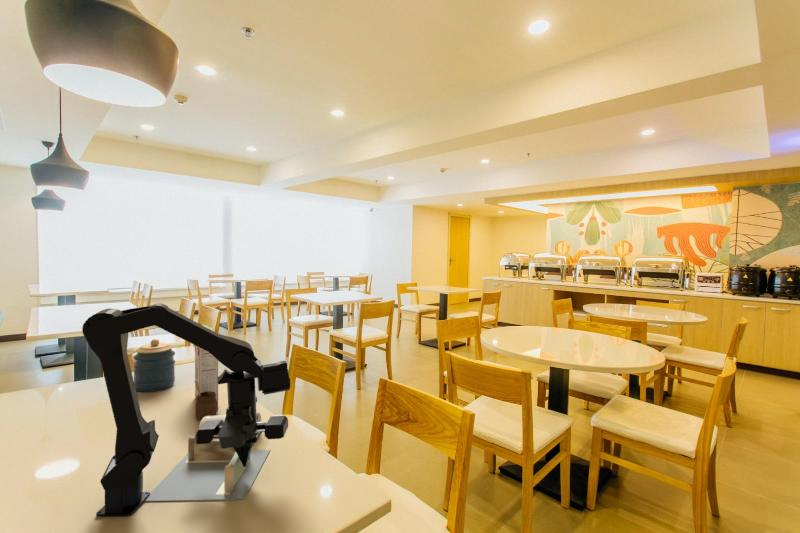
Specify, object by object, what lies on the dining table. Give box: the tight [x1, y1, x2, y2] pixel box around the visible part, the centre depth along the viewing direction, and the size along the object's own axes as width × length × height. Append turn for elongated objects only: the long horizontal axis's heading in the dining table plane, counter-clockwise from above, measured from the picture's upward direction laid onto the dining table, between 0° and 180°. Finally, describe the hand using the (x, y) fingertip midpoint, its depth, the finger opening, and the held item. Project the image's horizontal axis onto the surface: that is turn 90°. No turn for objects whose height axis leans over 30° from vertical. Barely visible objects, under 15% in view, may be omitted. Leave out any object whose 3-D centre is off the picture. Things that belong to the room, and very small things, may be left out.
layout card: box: [143, 449, 271, 503], centre depth 85 cm, size 19×20×1 cm
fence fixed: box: [187, 435, 250, 461], centre depth 90 cm, size 15×2×6 cm, turn 94°
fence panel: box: [224, 452, 243, 492], centre depth 83 cm, size 12×2×5 cm, turn 8°
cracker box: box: [194, 345, 219, 410], centre depth 123 cm, size 14×6×21 cm, turn 33°
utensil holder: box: [194, 380, 218, 421], centre depth 113 cm, size 6×6×12 cm
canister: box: [133, 338, 176, 393], centre depth 137 cm, size 13×13×18 cm
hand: (245, 465), depth 83 cm, fingers closed
